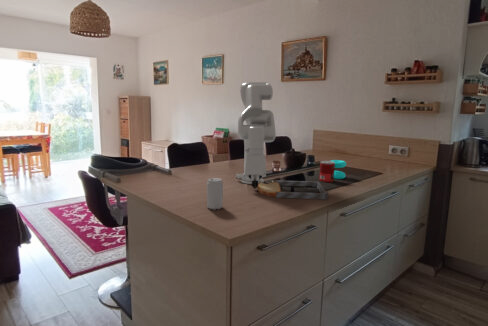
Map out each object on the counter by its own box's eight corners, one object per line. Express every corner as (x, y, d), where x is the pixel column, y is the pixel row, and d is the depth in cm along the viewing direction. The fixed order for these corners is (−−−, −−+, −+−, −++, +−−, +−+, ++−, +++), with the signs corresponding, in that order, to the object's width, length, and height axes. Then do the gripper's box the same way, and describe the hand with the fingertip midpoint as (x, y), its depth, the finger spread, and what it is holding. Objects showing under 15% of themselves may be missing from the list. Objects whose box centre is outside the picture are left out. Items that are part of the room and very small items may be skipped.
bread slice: (276, 198, 151) (276, 190, 150) (245, 191, 162) (245, 184, 161) (295, 191, 164) (296, 183, 164) (266, 185, 175) (266, 178, 175)
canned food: (334, 182, 182) (335, 163, 180) (319, 181, 184) (320, 162, 182) (333, 179, 189) (334, 161, 188) (319, 178, 191) (320, 160, 189)
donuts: (347, 160, 197) (345, 163, 188) (346, 176, 199) (344, 179, 190) (330, 159, 201) (328, 161, 191) (329, 175, 202) (327, 178, 193)
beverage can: (207, 205, 137) (207, 177, 135) (222, 205, 138) (222, 177, 136) (206, 210, 131) (206, 181, 129) (222, 210, 132) (223, 181, 129)
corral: (276, 197, 151) (276, 192, 150) (274, 185, 175) (274, 180, 174) (327, 199, 149) (327, 194, 149) (318, 186, 173) (318, 181, 173)
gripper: (239, 152, 156) (239, 189, 160) (271, 153, 155) (270, 190, 159) (241, 150, 164) (240, 185, 167) (271, 151, 163) (270, 186, 166)
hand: (255, 188), depth 163 cm, fingers closed
